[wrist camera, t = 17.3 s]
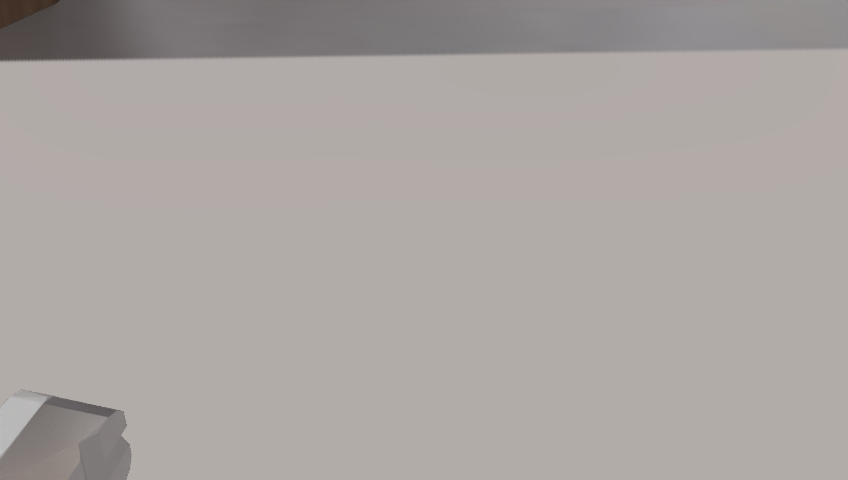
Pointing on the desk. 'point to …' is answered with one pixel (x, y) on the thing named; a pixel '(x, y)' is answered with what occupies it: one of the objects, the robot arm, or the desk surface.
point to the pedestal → (20, 9)
